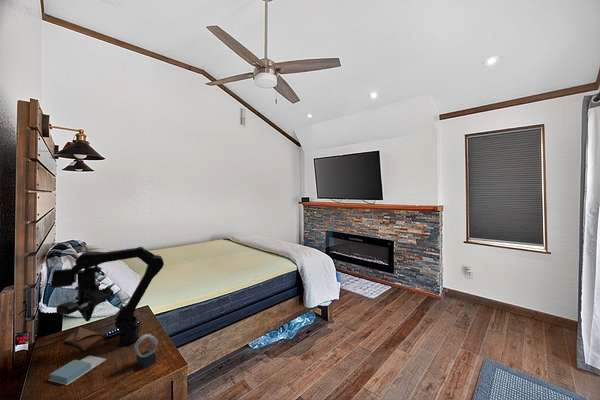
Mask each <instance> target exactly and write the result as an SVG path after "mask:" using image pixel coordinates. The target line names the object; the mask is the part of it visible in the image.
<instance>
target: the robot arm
mask: <svg viewBox="0 0 600 400" xmlns="http://www.w3.org/2000/svg"><path fill="white" fill-rule="evenodd" d="M135 258H136V259H137V258H138V259H139V260H140V261H142V262H143V263H145V264H146V268H145V271H144V274H143V276H142V277H141V279H140V281H139V282H138V285H137V286H136V288H135V289H134V291H133V293H132V295H131V297H130V298H129V300H128V301H127V303H126V304H125V305H120V307H119V309H118V311H117V312H116V313H115V316H114V321H115V322H114V326H115V328H116V329H118V330H120V331H119V338H118V339H119V340H118V342H117V346H123V347H127V348H128V347H131V346H132V345H135V343H136V341H137V340H138V339H139V338H140V337H141V336H140V337H139V324H138V317H136V316H135V311H136V309H137V307H138V305H139V304H140V301H141V299H142V298H143V296H144V295H145V293H146V290H147V289H148V287H149V285H150V284H151V282H152V280H153V279H154V278H155V277H156V276H157V275H158V273H160V271H161V270H162V269H163V267H164V265H165V263H164V259H163V257H162V256H161V255H157V254H154V253H153V252H151V251H149V250H147V249H145V248H144V247H143V246H138V247H134V248H133V247H132V248H125V249H120V250H119V249H118V250H112V251H96V250H95V251H91V250H89V251H84V252H82V253H81V254H80V255H79V256H78V257H77V259H75V265H72V267H71V268H66V269H55V270H53V272H52V277H51V281H50V285H51V288H52V289H57V288H65V287H72V286H73V284H74V283H77V286H76V287H75V290H76V291H77V296H75V300H76V301H75V302H72V301H66V302H64V303H61V304H58V305H57V306H56V308H55V309H56V310H55V311H56V314H61V315H71V314H74V313H76V312H77V311H78V312H79V313H80V315H81V317H82V318H83V319H84V321H85V322H90V321H91V319H92V315H93V313H94V310H95V308H96V307H97V306H98V305H101V304H103V303H106V302H107V299H109V298H112V297H114V296H115V292H114V290H113V289H112V288H110V287H109V286H108V287H106V288H105V287H104V288H102V289H100V285H99V284H97V276H96V275H97V274H96V273H100V272H101V270H102V267H100V266H99V265H102V264H105V263H109V262H110V263H111V262H115V261H123V260H127V259H128V260H129V259H135Z"/></svg>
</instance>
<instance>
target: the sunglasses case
mask: <svg viewBox="0 0 600 400" xmlns="http://www.w3.org/2000/svg"><path fill="white" fill-rule="evenodd" d="M106 341H107V337H106V336H105V335H104V334H102V333H98V332H96V331H93V330H89V329H86V328H83V327H80V326H79V327H78V328H77V329H76V330H75V331H74V332H73V333H71V334H70V335H68V336H67V337H66V338H65V339H64V340H62V341H61V343H64V344H68V345H72V346H74V347H75V348H76V347H77V348H79V349H81V350H82V351H86V350H89V349H91V348H93V347H96V346H98V345H99V344H102V343H104V342H106Z"/></svg>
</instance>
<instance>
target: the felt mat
mask: <svg viewBox="0 0 600 400" xmlns="http://www.w3.org/2000/svg"><path fill="white" fill-rule="evenodd" d="M106 360H107V358H104V357H99V356H93V355H88V356H86V357H84V358H82V359H80V360H79V361H84V362H88V363H91V369H89V370H88V371H86V372H85V373H83V374H82V375H80V376H79V377H77V378H76V379H74V380H72V381H71V382H69V383H68V384H66V383H62V382H58V381H54V380H50V378H49V379H48V381H49V382H54V383H57V384H61V385H65V386H68V385H69V384H71V383H73V382H74V381H76V380H78V379H79V378H80V377H82V376H83V375H85V374H86V373H88V372H89V371H91V370H92V369H94V368H96V367H97V366H99V365H100V364H102V363H104V362H105V361H106Z"/></svg>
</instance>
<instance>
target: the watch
mask: <svg viewBox="0 0 600 400" xmlns="http://www.w3.org/2000/svg"><path fill="white" fill-rule="evenodd" d="M145 339H147V340H148V341H149V343H151V344H152V346H151V348H150V349H147V350H146V351H143V352H140V350H139V345H140V344H141V342H143V340H145ZM158 343H159V340H158V339H157V338H156V336H154V335H152V333H145V334H143V335H141V336H140V338H139V339H138V340H137V341H136V342H135V343H134V347H133V351H134V353H135V354H136V364H137V365H139V367H140V368H142V369H143V370H146V369H147V368H149V367H151V366H152V365H155V364H156V363H157V361H156V360H157V359H156V358H157V356H156V354H155V353H154V352H155V350H156V349H157V346H158Z"/></svg>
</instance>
